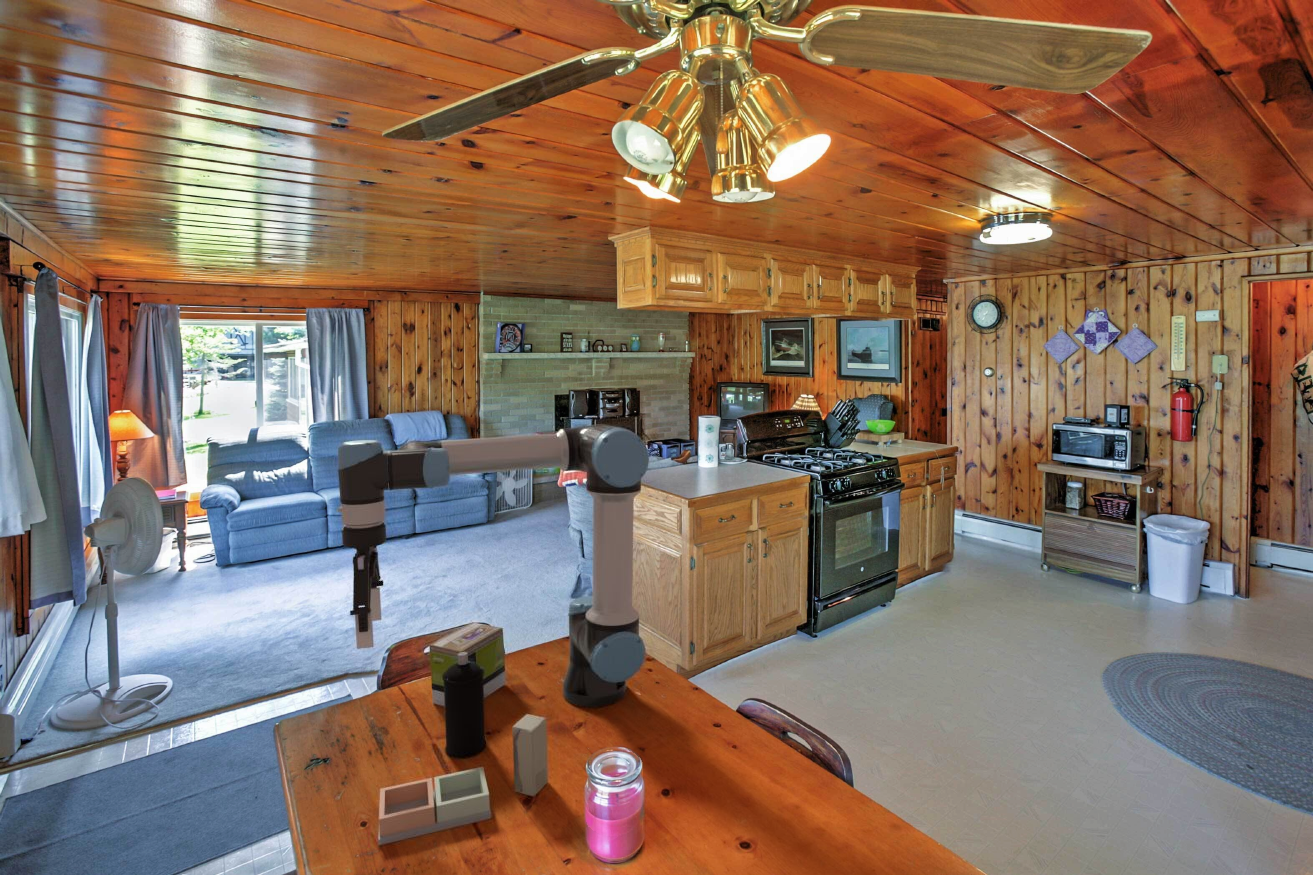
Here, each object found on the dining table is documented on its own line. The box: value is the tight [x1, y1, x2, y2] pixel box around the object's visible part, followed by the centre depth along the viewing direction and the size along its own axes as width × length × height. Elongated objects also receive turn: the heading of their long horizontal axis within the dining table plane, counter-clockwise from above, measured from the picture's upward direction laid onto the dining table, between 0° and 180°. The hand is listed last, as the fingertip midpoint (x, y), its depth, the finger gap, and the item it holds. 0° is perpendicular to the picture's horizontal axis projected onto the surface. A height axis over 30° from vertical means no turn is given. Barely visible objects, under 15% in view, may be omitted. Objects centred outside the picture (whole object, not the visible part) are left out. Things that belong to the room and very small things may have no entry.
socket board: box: [377, 766, 492, 846], centre depth 116 cm, size 18×10×4 cm, turn 111°
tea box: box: [428, 621, 507, 708], centre depth 158 cm, size 15×10×15 cm
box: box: [512, 713, 549, 797], centre depth 123 cm, size 5×4×13 cm
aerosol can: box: [442, 652, 488, 760], centre depth 136 cm, size 8×8×20 cm
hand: (369, 633), depth 127 cm, fingers open, 13 cm apart
